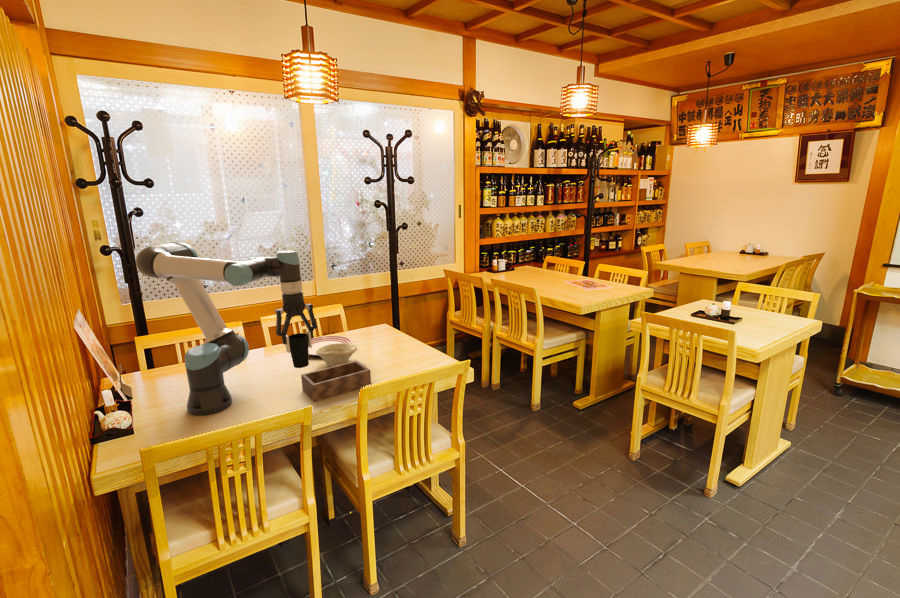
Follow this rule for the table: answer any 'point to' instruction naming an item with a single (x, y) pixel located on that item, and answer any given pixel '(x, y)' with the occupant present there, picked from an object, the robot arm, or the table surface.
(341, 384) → the open wooden box
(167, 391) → the table surface
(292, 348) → the cup
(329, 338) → the dinner plate
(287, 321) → the robot arm
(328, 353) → the bowl
